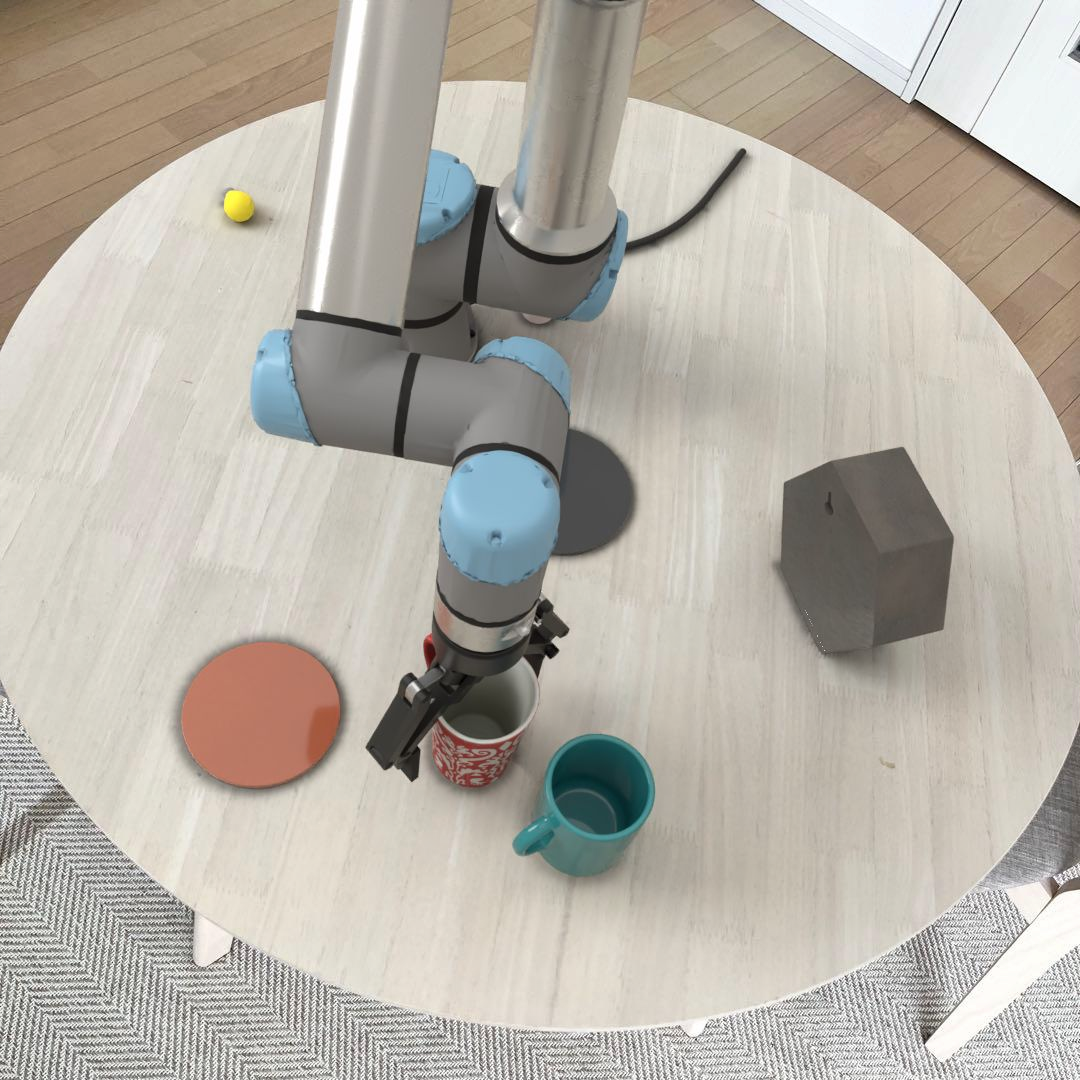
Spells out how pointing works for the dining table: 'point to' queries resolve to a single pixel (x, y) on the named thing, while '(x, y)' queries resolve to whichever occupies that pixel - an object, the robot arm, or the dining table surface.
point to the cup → (589, 805)
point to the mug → (484, 724)
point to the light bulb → (238, 205)
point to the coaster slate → (590, 495)
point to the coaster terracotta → (260, 714)
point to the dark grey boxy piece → (865, 551)
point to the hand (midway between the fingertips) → (465, 722)
